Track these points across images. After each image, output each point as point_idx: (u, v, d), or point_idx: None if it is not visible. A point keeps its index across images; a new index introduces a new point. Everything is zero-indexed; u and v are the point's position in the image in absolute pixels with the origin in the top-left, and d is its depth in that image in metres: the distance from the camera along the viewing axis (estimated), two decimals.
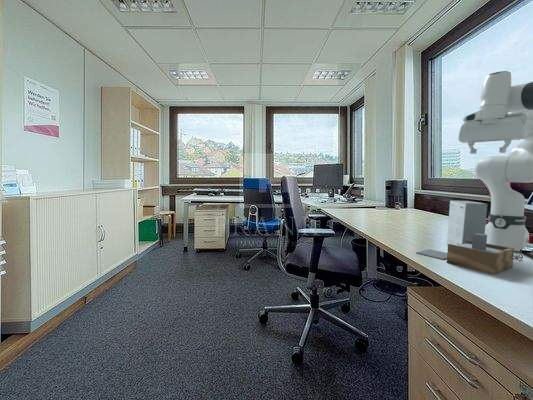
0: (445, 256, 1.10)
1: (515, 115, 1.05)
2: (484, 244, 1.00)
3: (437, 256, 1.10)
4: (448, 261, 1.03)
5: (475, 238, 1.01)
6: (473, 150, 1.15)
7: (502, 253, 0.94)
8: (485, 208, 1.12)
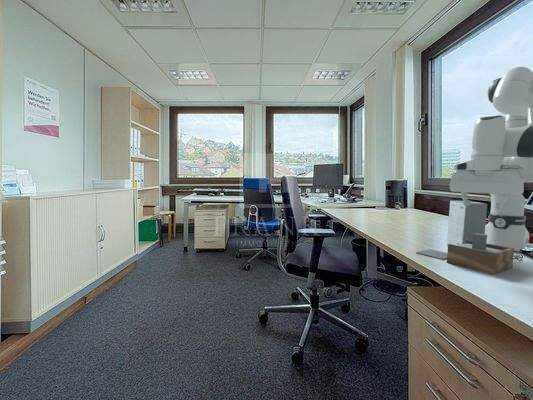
0: (445, 256, 1.10)
1: (512, 168, 0.93)
2: (484, 244, 1.00)
3: (437, 256, 1.10)
4: (448, 261, 1.03)
5: (475, 238, 1.01)
6: (467, 202, 1.03)
7: (502, 253, 0.94)
8: (485, 208, 1.12)
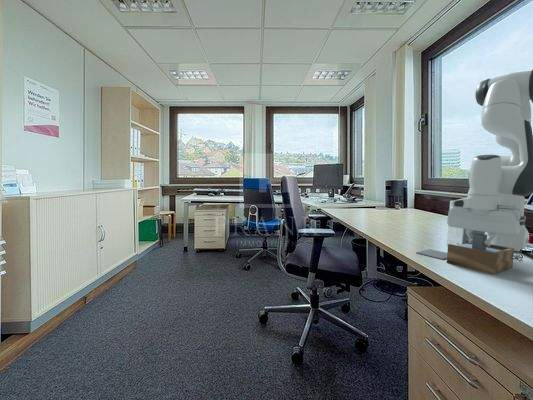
0: (445, 256, 1.10)
1: (508, 208, 0.94)
2: None
3: (437, 256, 1.10)
4: (448, 261, 1.03)
5: (475, 238, 1.01)
6: (472, 240, 1.02)
7: (502, 253, 0.94)
8: None
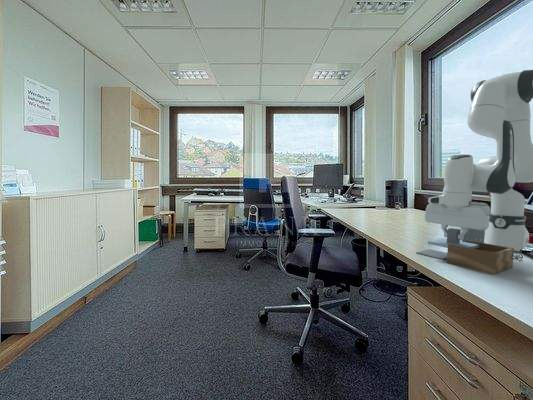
0: (445, 256, 1.10)
1: (478, 205, 1.01)
2: None
3: (437, 256, 1.10)
4: (448, 261, 1.03)
5: (449, 233, 1.08)
6: None
7: (502, 253, 0.94)
8: None
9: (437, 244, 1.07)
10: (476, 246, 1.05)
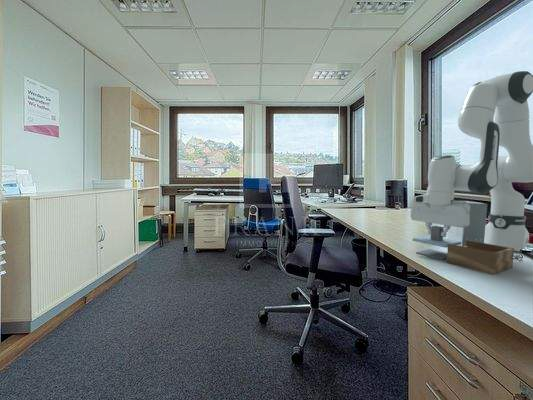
0: (445, 256, 1.10)
1: (459, 203, 1.06)
2: None
3: (437, 256, 1.10)
4: (448, 261, 1.03)
5: (433, 230, 1.13)
6: None
7: (502, 253, 0.94)
8: (485, 208, 1.12)
9: (421, 241, 1.12)
10: (458, 243, 1.10)
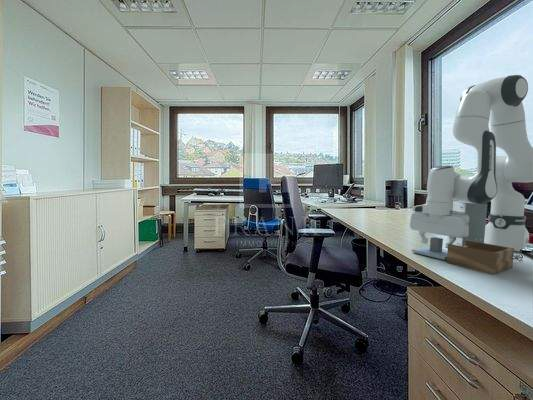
0: None
1: None
2: (440, 247, 1.12)
3: None
4: (448, 261, 1.03)
5: (432, 241, 1.13)
6: (424, 240, 1.16)
7: (502, 253, 0.94)
8: (485, 208, 1.12)
9: (420, 252, 1.13)
10: None
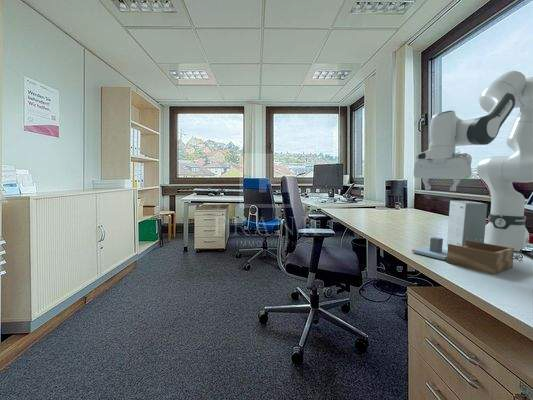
0: None
1: (461, 155, 1.09)
2: (440, 247, 1.12)
3: None
4: (448, 261, 1.03)
5: (432, 241, 1.13)
6: (427, 187, 1.20)
7: (502, 253, 0.94)
8: (485, 208, 1.12)
9: (420, 252, 1.13)
10: None
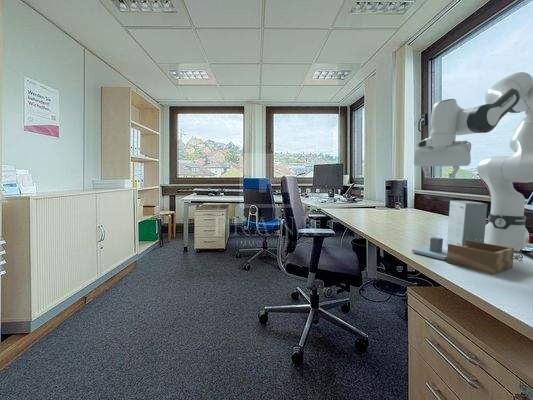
0: None
1: (461, 143, 1.11)
2: (440, 247, 1.12)
3: None
4: (448, 261, 1.03)
5: (432, 241, 1.13)
6: (427, 174, 1.21)
7: (502, 253, 0.94)
8: (485, 208, 1.12)
9: (420, 252, 1.13)
10: None
